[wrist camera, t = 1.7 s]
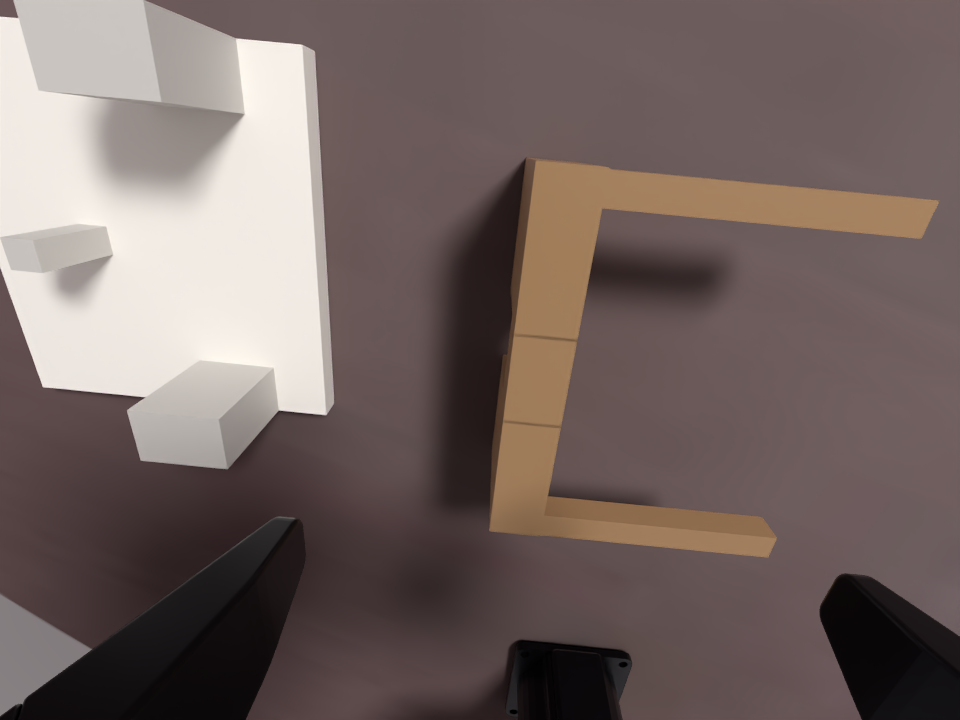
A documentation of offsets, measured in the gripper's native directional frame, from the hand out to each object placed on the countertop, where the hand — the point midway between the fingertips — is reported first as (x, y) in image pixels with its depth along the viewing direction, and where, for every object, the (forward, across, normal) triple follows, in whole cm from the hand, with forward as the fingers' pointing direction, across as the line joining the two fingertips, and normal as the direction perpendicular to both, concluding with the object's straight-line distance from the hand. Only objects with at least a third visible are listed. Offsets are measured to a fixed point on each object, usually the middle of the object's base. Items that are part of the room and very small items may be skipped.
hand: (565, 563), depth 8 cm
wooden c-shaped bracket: (+12, -4, 0) cm, 12 cm away
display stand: (+12, +14, -2) cm, 18 cm away
